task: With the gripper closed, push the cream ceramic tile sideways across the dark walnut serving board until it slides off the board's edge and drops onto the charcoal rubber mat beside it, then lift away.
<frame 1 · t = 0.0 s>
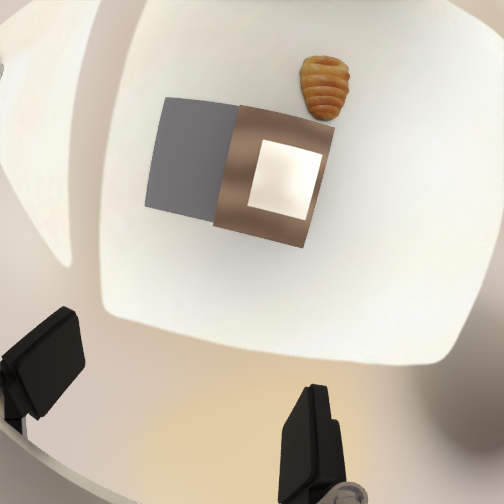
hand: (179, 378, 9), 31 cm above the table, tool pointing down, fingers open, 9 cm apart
tile: (284, 178, 33), point 4 cm above the table, touching serving board
serving board: (273, 174, 37), on the table
mat: (189, 157, 37), on the table
pastry: (324, 86, 32), on the table
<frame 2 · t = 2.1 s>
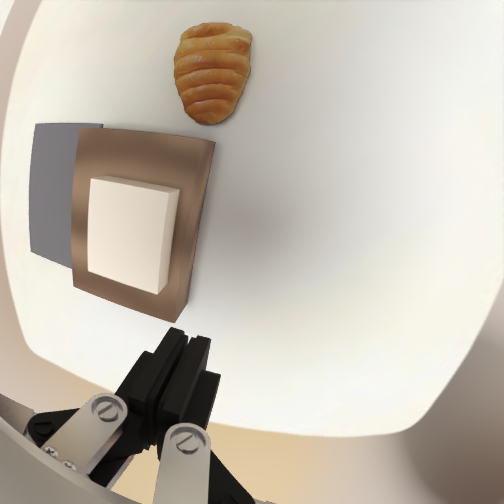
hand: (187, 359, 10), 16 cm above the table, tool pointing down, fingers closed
tile: (134, 229, 21), point 4 cm above the table, touching serving board
serving board: (141, 215, 25), on the table
mat: (57, 195, 25), on the table
pastry: (217, 71, 21), on the table
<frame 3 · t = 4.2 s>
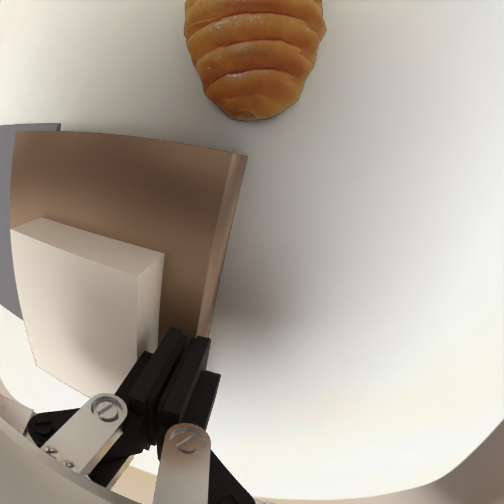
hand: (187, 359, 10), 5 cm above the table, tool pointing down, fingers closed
tile: (94, 312, 11), point 4 cm above the table, touching gripper, serving board
serving board: (120, 274, 15), on the table
mat: (9, 230, 15), on the table
pastry: (260, 31, 11), on the table
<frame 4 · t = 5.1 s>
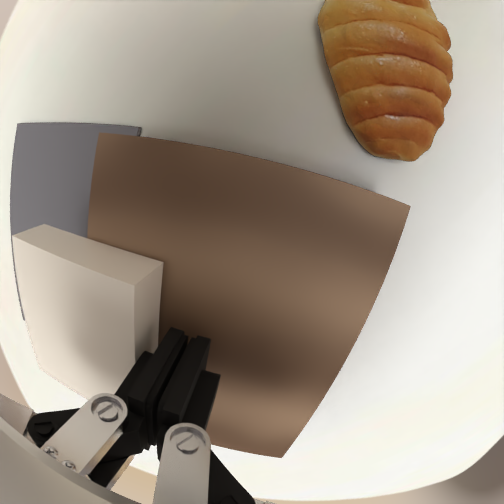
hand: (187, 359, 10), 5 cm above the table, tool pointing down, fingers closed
tile: (95, 318, 11), point 4 cm above the table, touching gripper
serving board: (222, 305, 15), on the table
mat: (56, 249, 15), on the table
pastry: (383, 63, 10), on the table
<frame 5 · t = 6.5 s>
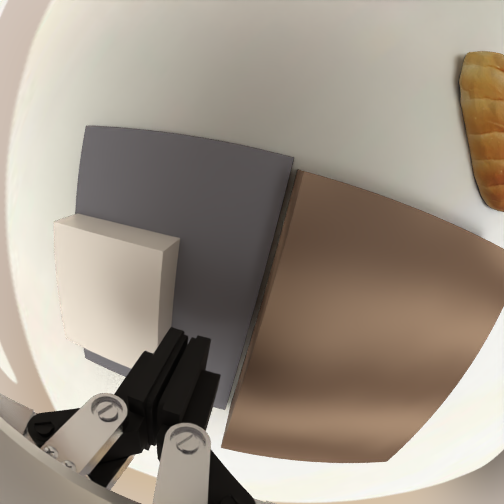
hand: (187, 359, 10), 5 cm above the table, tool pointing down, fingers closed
tile: (101, 305, 13), point 2 cm above the table, tilted 180°, touching mat
serving board: (356, 337, 15), on the table
mat: (153, 286, 15), on the table
pastry: (493, 124, 10), on the table
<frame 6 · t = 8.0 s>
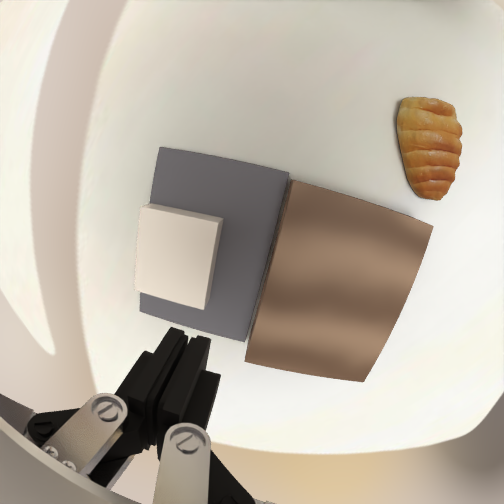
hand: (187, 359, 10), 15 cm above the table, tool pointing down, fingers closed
tile: (171, 259, 23), point 2 cm above the table, tilted 180°, touching mat
serving board: (331, 281, 25), on the table
mat: (203, 250, 25), on the table
pastry: (424, 142, 21), on the table
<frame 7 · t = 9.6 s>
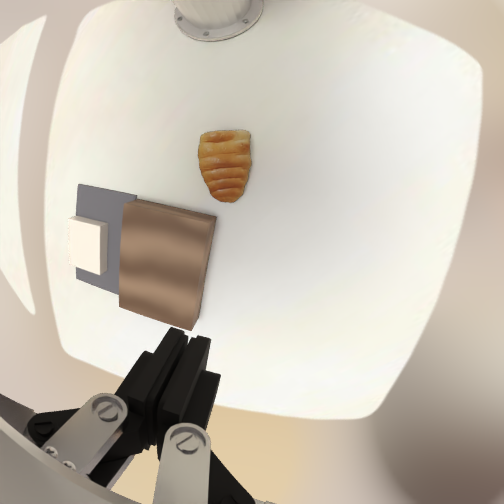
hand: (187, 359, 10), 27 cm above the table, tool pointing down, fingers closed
tile: (83, 246, 37), point 2 cm above the table, tilted 180°, touching mat
serving board: (167, 260, 39), on the table
mat: (101, 241, 40), on the table
pastry: (228, 160, 34), on the table
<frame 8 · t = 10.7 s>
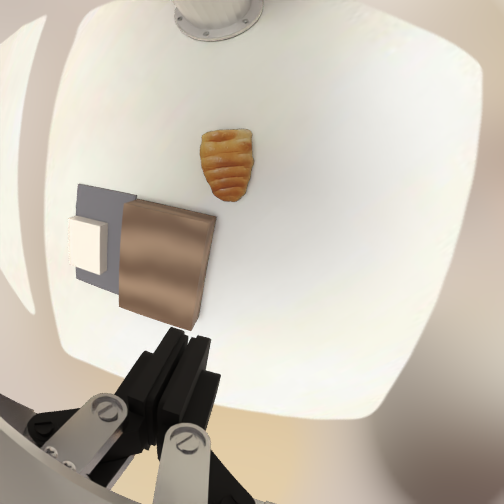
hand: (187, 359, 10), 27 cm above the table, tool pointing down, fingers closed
tile: (83, 246, 37), point 2 cm above the table, tilted 180°, touching mat
serving board: (167, 260, 39), on the table
mat: (101, 241, 40), on the table
pastry: (230, 159, 34), on the table
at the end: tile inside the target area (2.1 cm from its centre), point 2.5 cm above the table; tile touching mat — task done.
